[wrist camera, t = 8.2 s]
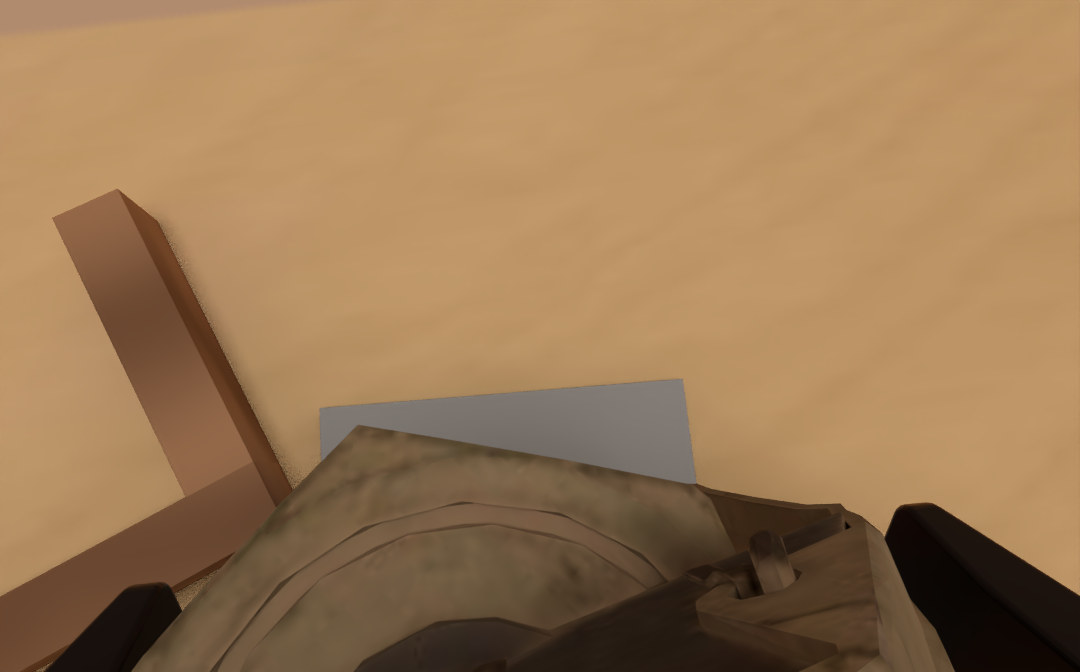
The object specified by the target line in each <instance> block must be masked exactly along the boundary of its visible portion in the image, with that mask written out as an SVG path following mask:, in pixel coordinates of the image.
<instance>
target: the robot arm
mask: <svg viewBox="0 0 1080 672" xmlns="http://www.w3.org/2000/svg"><path fill="white" fill-rule="evenodd" d="M884 539H885V541H886V544H887V546H888V548H889V551H890V553H891V555H892V558H893V560H894V562H895V565H896V567H897V569H898V572H899V574H900V576H901V579H902V581H903V583H904V586H905V588H906V590H907V593H908V595H909V597H910V599H911V601H912V602H913V603H914V604H915V605H916V607H917V608H918V609H919V610H920V611H921V613H922V614H923V615H924V616H925V617H926V619H927V620H928V621H929V622H930V623H931V625H932V626H933V627H934V628H935V629H936V632H937V634H938V636H939V638H940V640H941V642H942V644H943V647H944V649H945V651H946V653H947V655H948V658H949V660H950V662H951V664H952V666H953V669H954V671H955V672H1080V596H1079V595H1078V594H1076V593H1075V592H1073V591H1071V590H1070V589H1068V588H1067V587H1065V586H1064V585H1062V584H1060V583H1059V582H1057V581H1056V580H1054V579H1053V578H1051V577H1049V576H1048V575H1046V574H1045V573H1043V572H1042V571H1040V570H1038V569H1037V568H1035V567H1034V566H1032V565H1031V564H1029V563H1027V562H1026V561H1024V560H1023V559H1021V558H1019V557H1018V556H1016V555H1015V554H1013V553H1012V552H1010V551H1008V550H1007V549H1005V548H1004V547H1002V546H1001V545H999V544H997V543H996V542H994V541H993V540H991V539H990V538H988V537H986V536H985V535H983V534H982V533H980V532H978V531H977V530H975V529H974V528H972V527H971V526H969V525H967V524H966V523H964V522H963V521H961V520H960V519H958V518H956V517H955V516H953V515H952V514H950V513H949V512H947V511H945V510H944V509H942V508H941V507H939V506H937V505H935V504H932V503H915V504H905V505H901V506H900V507H898V508H897V509H896V511H895V512H894V515H893V517H892V520H891V522H890V525H889V527H888V530H887V532H886V535H885V537H884ZM181 612H182V610H181V607H180V605H179V603H178V601H177V599H176V597H175V595H174V592H173V590H172V588H171V587H170V585H168V584H167V583H165V582H152V583H143V584H135V585H131V586H129V587H127V588H126V589H124V590H123V591H122V592H121V593H119V594H118V596H117V597H116V598H115V599H114V600H113V601H112V602H111V603H110V604H109V605H108V606H107V607H106V608H105V609H104V610H103V611H102V612H101V613H100V614H99V615H98V616H97V617H96V618H95V619H94V620H93V621H92V622H91V623H90V624H89V625H88V626H87V627H86V628H85V629H84V630H83V631H82V633H81V634H80V635H79V636H78V637H77V638H76V639H75V640H74V641H73V642H72V643H71V644H70V645H69V646H68V647H67V648H66V649H65V650H64V651H63V652H62V653H61V654H60V655H59V656H58V657H57V658H56V659H55V660H54V661H53V662H52V663H51V664H50V665H49V666H48V667H47V668H46V670H45V671H44V672H131V671H132V670H133V669H134V667H135V666H136V665H137V663H138V662H139V661H140V659H141V658H142V656H143V655H144V654H145V653H146V652H147V651H148V650H149V648H150V647H151V646H152V645H153V644H154V643H155V642H156V641H157V639H158V638H159V637H160V636H161V635H162V634H163V633H164V631H165V630H166V629H167V628H168V627H169V626H170V625H171V624H172V622H173V621H174V620H175V619H176V618H177V617H178V616H179V614H180V613H181Z"/></svg>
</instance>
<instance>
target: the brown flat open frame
mask: <svg viewBox="0 0 1080 672" xmlns="http://www.w3.org/2000/svg"><path fill="white" fill-rule="evenodd" d="M52 219H53V221H54V223H55V225H56V227H57V229H58V231H59V233H60V236H61V238H62V240H63V242H64V244H65V246H66V248H67V250H68V252H69V254H70V256H71V259H72V261H73V263H74V265H75V267H76V269H77V271H78V273H79V275H80V277H81V279H82V281H83V284H84V286H85V288H86V290H87V292H88V294H89V296H90V298H91V300H92V302H93V304H94V307H95V309H96V311H97V313H98V315H99V317H100V319H101V321H102V323H103V325H104V327H105V330H106V332H107V334H108V336H109V338H110V340H111V342H112V344H113V346H114V348H115V350H116V352H117V355H118V357H119V359H120V361H121V363H122V365H123V367H124V369H125V371H126V373H127V375H128V378H129V380H130V382H131V384H132V386H133V388H134V390H135V392H136V394H137V396H138V398H139V401H140V403H141V405H142V407H143V409H144V411H145V413H146V415H147V417H148V419H149V421H150V423H151V426H152V428H153V430H154V432H155V434H156V436H157V438H158V440H159V442H160V444H161V446H162V449H163V451H164V453H165V455H166V457H167V459H168V461H169V463H170V465H171V467H172V469H173V471H174V474H175V476H176V478H177V480H178V482H179V484H180V486H181V488H182V490H183V492H184V494H185V498H184V499H182V500H180V501H178V502H176V503H174V504H172V505H170V506H169V507H167V508H165V509H163V510H161V511H159V512H157V513H156V514H154V515H152V516H150V517H148V518H146V519H144V520H142V521H141V522H139V523H137V524H135V525H133V526H131V527H129V528H128V529H126V530H124V531H122V532H120V533H118V534H116V535H114V536H113V537H111V538H109V539H107V540H105V541H103V542H101V543H100V544H98V545H96V546H94V547H92V548H90V549H88V550H86V551H85V552H83V553H81V554H79V555H77V556H75V557H73V558H72V559H70V560H68V561H66V562H64V563H62V564H60V565H58V566H57V567H55V568H53V569H51V570H49V571H47V572H45V573H44V574H42V575H40V576H38V577H36V578H34V579H32V580H30V581H29V582H27V583H25V584H23V585H21V586H19V587H17V588H16V589H14V590H12V591H10V592H8V593H6V594H4V595H2V596H1V597H0V672H34V671H36V670H38V669H40V668H41V667H43V666H45V665H47V664H49V663H50V662H52V661H54V660H55V659H56V658H57V657H58V656H59V655H60V654H61V653H62V652H63V651H64V650H65V649H66V648H67V647H68V646H69V645H70V644H71V643H72V642H73V641H74V640H75V639H76V638H77V637H78V636H79V635H80V634H81V633H82V631H83V630H84V629H85V628H86V627H87V626H88V625H89V624H90V623H91V622H92V621H93V620H94V619H95V618H96V617H97V616H98V615H99V614H100V613H101V612H102V611H103V610H104V609H105V608H106V607H107V606H108V605H109V604H110V603H111V602H112V601H113V600H114V599H115V598H116V597H117V596H118V594H119V593H121V592H122V591H123V590H124V589H126V588H127V587H129V586H131V585H135V584H143V583H152V582H165V583H167V584H168V585H170V587H171V588H172V590H173V592H174V593H176V592H177V591H179V590H181V589H183V588H185V587H186V586H188V585H190V584H192V583H193V582H195V581H197V580H199V579H201V578H202V577H204V576H206V575H208V574H210V573H211V572H213V571H215V570H217V569H219V568H220V567H222V566H223V565H224V564H225V563H226V562H227V561H228V560H229V559H230V557H231V556H232V555H233V554H234V553H235V552H236V551H237V550H238V549H239V548H240V547H241V546H242V544H243V543H244V542H245V541H246V540H247V539H248V538H249V537H250V536H251V535H252V534H253V533H254V531H255V530H256V529H257V528H258V527H259V526H260V525H261V524H262V523H263V522H264V521H265V519H266V518H267V517H268V516H269V515H270V514H271V513H272V512H273V511H274V510H275V509H276V508H277V506H278V505H279V504H280V503H281V502H282V501H283V500H284V499H285V498H286V497H287V496H288V495H289V494H290V493H291V492H292V491H293V490H292V488H291V486H290V484H289V482H288V480H287V478H286V476H285V474H284V473H283V471H282V469H281V467H280V465H279V463H278V461H277V459H276V457H275V455H274V453H273V451H272V449H271V447H270V445H269V443H268V441H267V439H266V437H265V435H264V433H263V431H262V429H261V427H260V425H259V423H258V421H257V419H256V417H255V415H254V413H253V411H252V409H251V407H250V405H249V403H248V401H247V399H246V397H245V395H244V393H243V391H242V389H241V387H240V385H239V383H238V381H237V379H236V377H235V375H234V373H233V371H232V369H231V367H230V365H229V363H228V361H227V359H226V357H225V355H224V353H223V351H222V349H221V347H220V345H219V343H218V341H217V339H216V337H215V335H214V333H213V331H212V329H211V327H210V325H209V323H208V321H207V319H206V317H205V315H204V313H203V311H202V309H201V307H200V305H199V303H198V301H197V299H196V297H195V295H194V293H193V291H192V289H191V287H190V285H189V283H188V282H187V280H186V278H185V276H184V274H183V272H182V270H181V268H180V266H179V264H178V262H177V260H176V258H175V256H174V254H173V252H172V250H171V248H170V246H169V244H168V242H167V240H166V238H165V236H164V234H163V232H162V230H161V228H160V226H159V224H158V222H157V220H155V219H154V218H153V217H152V216H150V215H149V214H148V213H147V212H145V211H144V210H143V209H142V208H141V207H139V206H138V205H137V204H136V203H134V202H133V201H132V200H131V199H129V198H128V197H127V196H126V195H124V194H123V193H122V192H121V191H119V190H118V189H116V190H114V191H111V192H109V193H107V194H105V195H102V196H100V197H98V198H96V199H93V200H91V201H89V202H87V203H85V204H82V205H80V206H78V207H76V208H73V209H71V210H69V211H67V212H64V213H62V214H60V215H58V216H55V217H53V218H52Z"/></svg>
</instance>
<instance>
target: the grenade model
mask: <svg viewBox="0 0 1080 672" xmlns="http://www.w3.org/2000/svg"><path fill="white" fill-rule="evenodd" d="M131 672H955V671H954V669H953V666H952V664H951V662H950V660H949V658H948V655H947V653H946V651H945V649H944V647H943V644H942V642H941V640H940V638H939V636H938V634H937V632H936V629H935V628H934V627H933V626H932V625H931V623H930V622H929V621H928V620H927V619H926V617H925V616H924V615H923V614H922V613H921V611H920V610H919V609H918V608H917V607H916V605H915V604H914V603H913V602H912V601H911V599H910V597H909V595H908V593H907V590H906V588H905V586H904V583H903V581H902V579H901V576H900V574H899V572H898V569H897V567H896V565H895V562H894V560H893V558H892V555H891V553H890V551H889V548H888V546H887V544H886V541H885V539H884V537H883V534H882V533H881V532H880V531H879V530H878V529H876V528H875V527H874V526H873V525H871V524H870V523H869V522H868V521H867V520H865V519H864V518H863V517H862V516H860V515H858V514H855V513H853V512H850V511H847V510H846V509H845V508H844V507H843V506H842V505H841V504H814V505H806V504H799V503H792V502H785V501H778V500H770V499H763V498H757V497H751V496H746V495H740V494H735V493H730V492H724V491H719V490H713V489H710V488H707V487H704V486H701V485H699V484H686V483H681V482H676V481H671V480H666V479H661V478H656V477H651V476H646V475H641V474H636V473H631V472H625V471H620V470H615V469H610V468H605V467H600V466H595V465H590V464H585V463H580V462H575V461H570V460H564V459H558V458H552V457H547V456H541V455H535V454H530V453H524V452H518V451H512V450H507V449H501V448H495V447H489V446H484V445H478V444H472V443H466V442H461V441H455V440H449V439H443V438H437V437H431V436H425V435H418V434H412V433H406V432H400V431H394V430H388V429H382V428H375V427H369V426H363V425H357V426H356V427H355V428H354V429H353V430H352V431H351V432H350V433H349V434H348V435H347V436H346V437H345V438H344V439H343V440H342V441H341V442H340V443H339V444H338V445H337V446H336V447H335V448H334V449H333V450H332V451H331V452H330V453H329V454H328V455H327V456H326V458H325V459H324V460H323V461H322V462H321V463H320V464H319V465H318V466H317V467H316V468H315V469H314V470H313V471H312V472H311V473H310V474H309V475H308V476H307V477H306V478H305V479H304V480H303V481H302V482H301V483H300V484H299V485H298V486H297V487H296V488H295V489H294V490H293V491H292V492H291V493H290V494H289V495H288V496H287V497H286V498H285V499H284V500H283V501H282V502H281V503H280V504H279V505H278V506H277V508H276V509H275V510H274V511H273V512H272V513H271V514H270V515H269V516H268V517H267V518H266V519H265V521H264V522H263V523H262V524H261V525H260V526H259V527H258V528H257V529H256V530H255V531H254V533H253V534H252V535H251V536H250V537H249V538H248V539H247V540H246V541H245V542H244V543H243V544H242V546H241V547H240V548H239V549H238V550H237V551H236V552H235V553H234V554H233V555H232V556H231V557H230V559H229V560H228V561H227V562H226V563H225V564H224V565H223V566H222V567H221V568H220V569H219V570H218V572H217V573H216V574H215V575H214V576H213V577H212V578H211V579H210V580H209V582H208V583H207V584H206V585H205V586H204V587H203V588H202V590H201V591H200V592H199V593H198V594H197V595H196V596H195V597H194V599H193V600H192V601H191V602H190V603H189V604H188V605H187V607H186V608H185V609H184V610H183V611H182V612H181V613H180V614H179V616H178V617H177V618H176V619H175V620H174V621H173V622H172V624H171V625H170V626H169V627H168V628H167V629H166V630H165V631H164V633H163V634H162V635H161V636H160V637H159V638H158V639H157V641H156V642H155V643H154V644H153V645H152V646H151V647H150V648H149V650H148V651H147V652H146V653H145V654H144V655H143V656H142V658H141V659H140V661H139V662H138V663H137V665H136V666H135V667H134V669H133V670H132V671H131Z"/></svg>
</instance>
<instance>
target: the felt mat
mask: <svg viewBox="0 0 1080 672" xmlns="http://www.w3.org/2000/svg"><path fill="white" fill-rule="evenodd" d="M357 425H363V426H369V427H375V428H382V429H388V430H394V431H400V432H406V433H412V434H418V435H425V436H431V437H437V438H443V439H449V440H455V441H461V442H466V443H472V444H478V445H484V446H489V447H495V448H501V449H507V450H512V451H518V452H524V453H530V454H535V455H541V456H547V457H552V458H558V459H564V460H570V461H575V462H580V463H585V464H590V465H595V466H600V467H605V468H610V469H615V470H620V471H625V472H631V473H636V474H641V475H646V476H651V477H656V478H661V479H666V480H671V481H676V482H681V483H686V484H697V483H696V476H695V468H694V461H693V453H692V445H691V438H690V430H689V423H688V415H687V408H686V400H685V392H684V385H683V379H675V380H663V381H650V382H638V383H626V384H613V385H601V386H588V387H576V388H563V389H551V390H539V391H526V392H514V393H501V394H489V395H477V396H464V397H452V398H439V399H427V400H415V401H402V402H390V403H377V404H365V405H353V406H340V407H328V408H320V439H321V462H322V461H323V460H324V459H325V458H326V456H327V455H328V454H329V453H330V452H331V451H332V450H333V449H334V448H335V447H336V446H337V445H338V444H339V443H340V442H341V441H342V440H343V439H344V438H345V437H346V436H347V435H348V434H349V433H350V432H351V431H352V430H353V429H354V428H355V427H356V426H357Z"/></svg>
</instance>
